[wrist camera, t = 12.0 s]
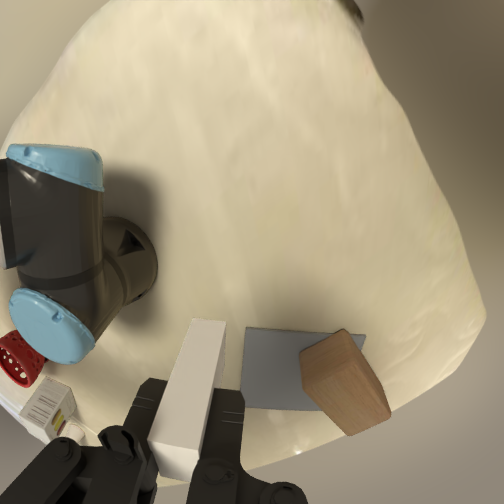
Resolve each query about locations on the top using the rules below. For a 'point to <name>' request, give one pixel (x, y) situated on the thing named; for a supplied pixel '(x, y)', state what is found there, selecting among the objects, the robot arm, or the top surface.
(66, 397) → the supplement box
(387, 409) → the wooden block
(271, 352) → the mat
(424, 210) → the top surface
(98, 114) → the top surface
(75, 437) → the cosmetic bottle
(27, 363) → the plant pot
